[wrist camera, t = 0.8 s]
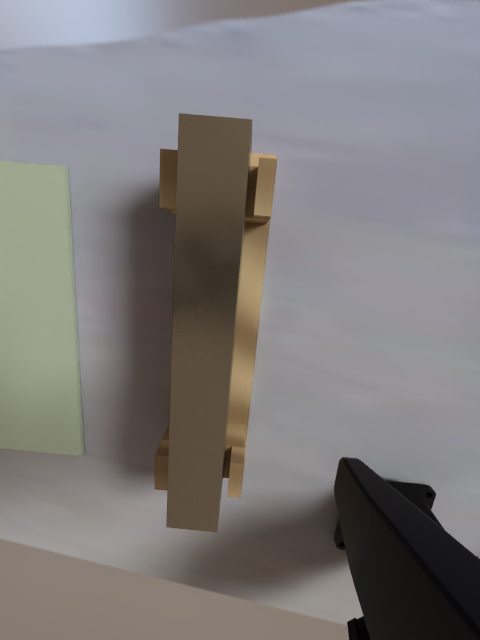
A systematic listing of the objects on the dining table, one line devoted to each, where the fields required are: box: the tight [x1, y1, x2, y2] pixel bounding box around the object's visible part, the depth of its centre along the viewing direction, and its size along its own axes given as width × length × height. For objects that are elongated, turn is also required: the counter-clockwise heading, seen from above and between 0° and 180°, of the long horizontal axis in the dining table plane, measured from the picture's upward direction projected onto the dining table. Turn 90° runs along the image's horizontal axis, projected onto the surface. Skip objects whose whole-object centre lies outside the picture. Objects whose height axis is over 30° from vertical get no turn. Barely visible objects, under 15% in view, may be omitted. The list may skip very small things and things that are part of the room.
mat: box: [0, 161, 84, 456], centre depth 19 cm, size 20×7×1 cm, turn 175°
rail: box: [167, 113, 252, 532], centre depth 15 cm, size 20×3×3 cm, turn 175°
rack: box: [155, 149, 277, 498], centre depth 17 cm, size 21×6×4 cm, turn 175°
